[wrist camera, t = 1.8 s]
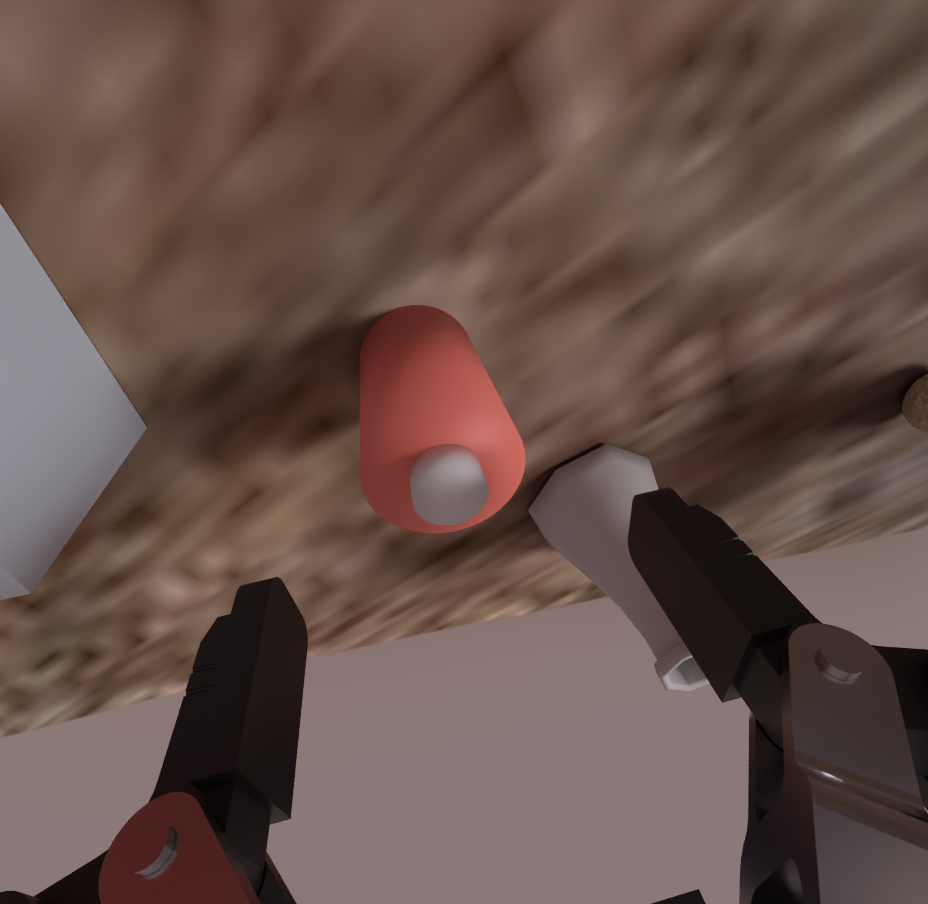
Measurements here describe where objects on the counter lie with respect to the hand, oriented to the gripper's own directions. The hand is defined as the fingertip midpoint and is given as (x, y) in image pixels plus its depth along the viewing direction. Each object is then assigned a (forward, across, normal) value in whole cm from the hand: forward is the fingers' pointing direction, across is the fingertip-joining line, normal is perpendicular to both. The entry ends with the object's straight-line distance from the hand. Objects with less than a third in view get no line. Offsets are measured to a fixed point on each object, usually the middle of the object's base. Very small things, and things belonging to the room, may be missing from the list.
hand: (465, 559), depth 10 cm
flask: (+11, -8, +10) cm, 17 cm away
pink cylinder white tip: (+10, 0, 0) cm, 10 cm away
